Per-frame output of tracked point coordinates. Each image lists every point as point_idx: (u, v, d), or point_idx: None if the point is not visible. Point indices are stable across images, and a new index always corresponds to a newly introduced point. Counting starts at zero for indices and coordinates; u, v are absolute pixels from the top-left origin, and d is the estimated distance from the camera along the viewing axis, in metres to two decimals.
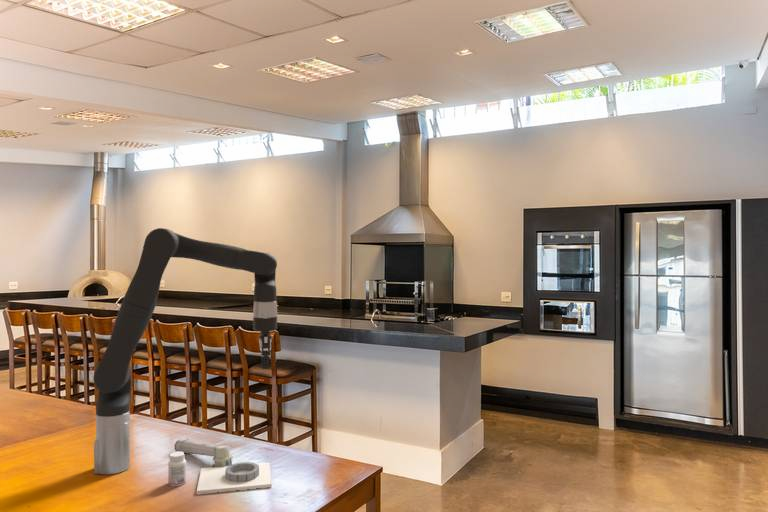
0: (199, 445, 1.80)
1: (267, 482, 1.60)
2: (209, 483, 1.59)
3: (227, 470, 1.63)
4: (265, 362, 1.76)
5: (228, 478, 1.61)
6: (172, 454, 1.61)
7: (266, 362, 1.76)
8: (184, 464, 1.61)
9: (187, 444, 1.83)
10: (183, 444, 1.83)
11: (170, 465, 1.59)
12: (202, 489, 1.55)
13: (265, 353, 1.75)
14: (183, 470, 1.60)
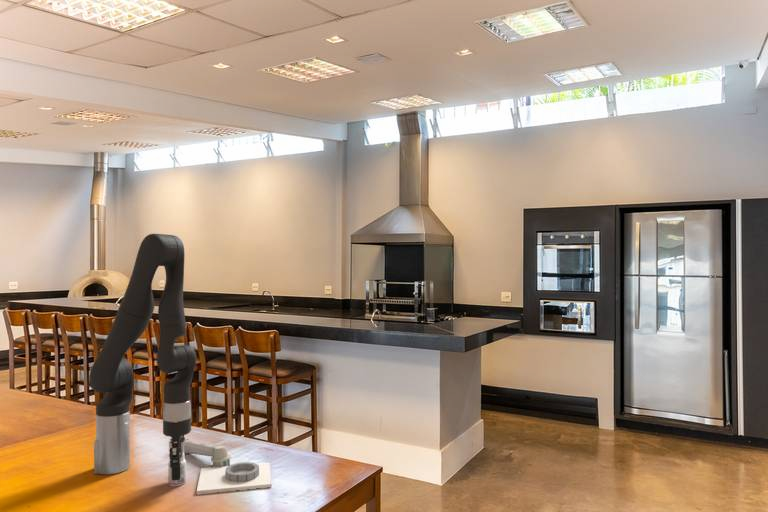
0: (198, 445, 1.80)
1: (267, 482, 1.60)
2: (209, 483, 1.59)
3: (227, 470, 1.63)
4: (175, 473, 1.58)
5: (228, 478, 1.61)
6: None
7: (176, 473, 1.58)
8: (184, 464, 1.61)
9: (186, 444, 1.83)
10: None
11: None
12: (202, 489, 1.55)
13: (174, 465, 1.56)
14: (183, 470, 1.60)
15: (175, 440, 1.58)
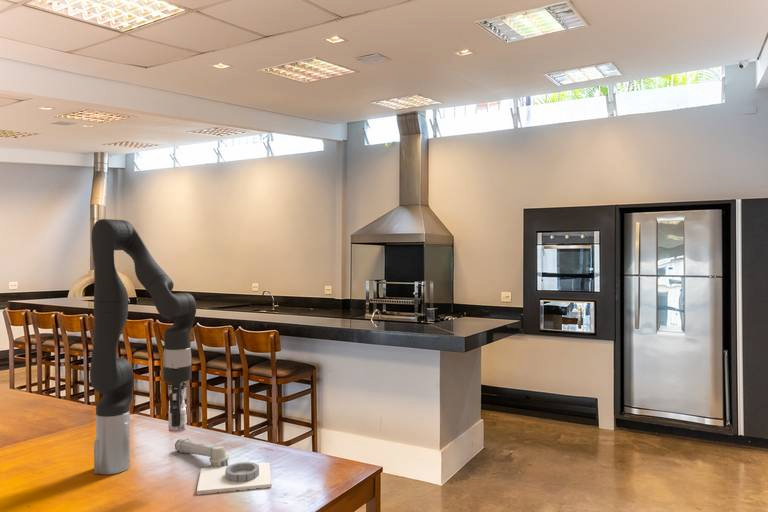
0: (197, 445, 1.80)
1: (267, 482, 1.60)
2: (209, 483, 1.59)
3: (227, 470, 1.63)
4: (175, 419, 1.57)
5: (228, 478, 1.61)
6: None
7: (176, 419, 1.58)
8: (184, 411, 1.61)
9: (186, 444, 1.83)
10: (183, 443, 1.84)
11: None
12: (202, 489, 1.55)
13: (174, 411, 1.56)
14: (183, 417, 1.60)
15: (175, 386, 1.57)
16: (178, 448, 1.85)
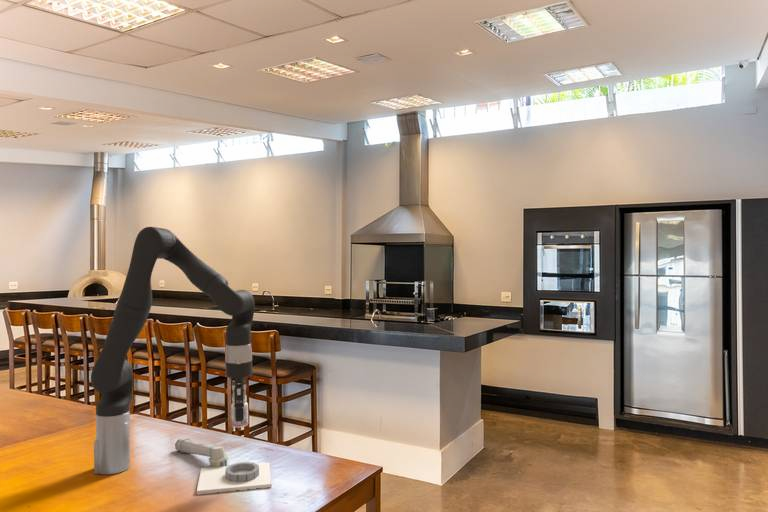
0: (197, 445, 1.80)
1: (267, 482, 1.60)
2: (209, 483, 1.59)
3: (227, 470, 1.63)
4: (239, 414, 1.60)
5: (228, 478, 1.61)
6: None
7: (240, 414, 1.60)
8: (246, 406, 1.63)
9: (186, 443, 1.83)
10: (183, 443, 1.84)
11: (233, 407, 1.62)
12: (202, 489, 1.55)
13: (238, 405, 1.59)
14: (246, 412, 1.63)
15: (238, 381, 1.60)
16: (178, 448, 1.85)
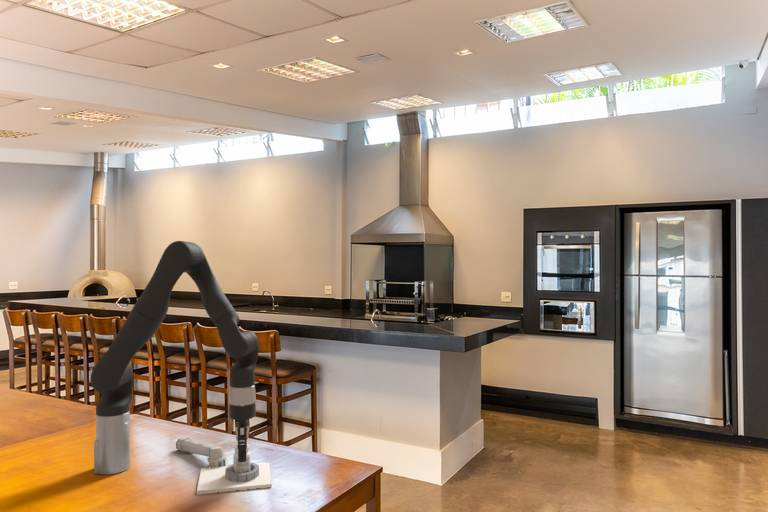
0: (196, 445, 1.80)
1: (267, 482, 1.60)
2: (209, 483, 1.59)
3: (227, 470, 1.63)
4: (241, 455, 1.59)
5: (228, 478, 1.61)
6: None
7: (243, 455, 1.59)
8: (249, 456, 1.64)
9: (186, 443, 1.83)
10: (183, 443, 1.84)
11: (236, 457, 1.63)
12: (202, 489, 1.55)
13: (241, 446, 1.58)
14: (248, 462, 1.64)
15: (242, 423, 1.61)
16: (179, 447, 1.86)
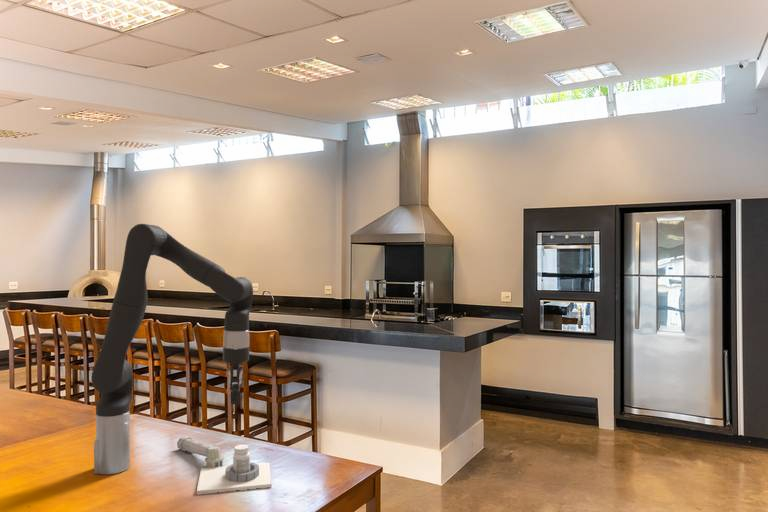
0: (196, 444, 1.80)
1: (267, 482, 1.60)
2: (209, 483, 1.59)
3: (227, 470, 1.63)
4: (234, 397, 1.62)
5: (228, 478, 1.61)
6: (237, 447, 1.64)
7: (235, 397, 1.62)
8: (249, 456, 1.64)
9: (187, 442, 1.84)
10: (184, 442, 1.85)
11: (236, 458, 1.62)
12: (202, 489, 1.55)
13: (234, 388, 1.60)
14: (248, 462, 1.64)
15: (235, 366, 1.63)
16: (180, 446, 1.86)
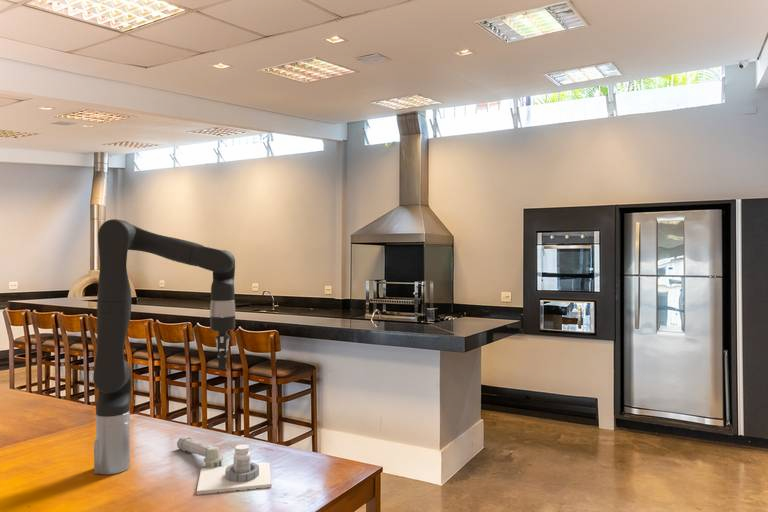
0: (195, 444, 1.80)
1: (267, 482, 1.60)
2: (209, 483, 1.59)
3: (227, 470, 1.63)
4: (221, 363, 1.71)
5: (228, 478, 1.61)
6: (237, 447, 1.64)
7: (222, 363, 1.71)
8: (249, 456, 1.64)
9: (186, 442, 1.84)
10: (183, 442, 1.85)
11: (236, 457, 1.62)
12: (202, 489, 1.55)
13: (221, 353, 1.69)
14: (248, 462, 1.64)
15: (222, 334, 1.72)
16: (180, 446, 1.86)
